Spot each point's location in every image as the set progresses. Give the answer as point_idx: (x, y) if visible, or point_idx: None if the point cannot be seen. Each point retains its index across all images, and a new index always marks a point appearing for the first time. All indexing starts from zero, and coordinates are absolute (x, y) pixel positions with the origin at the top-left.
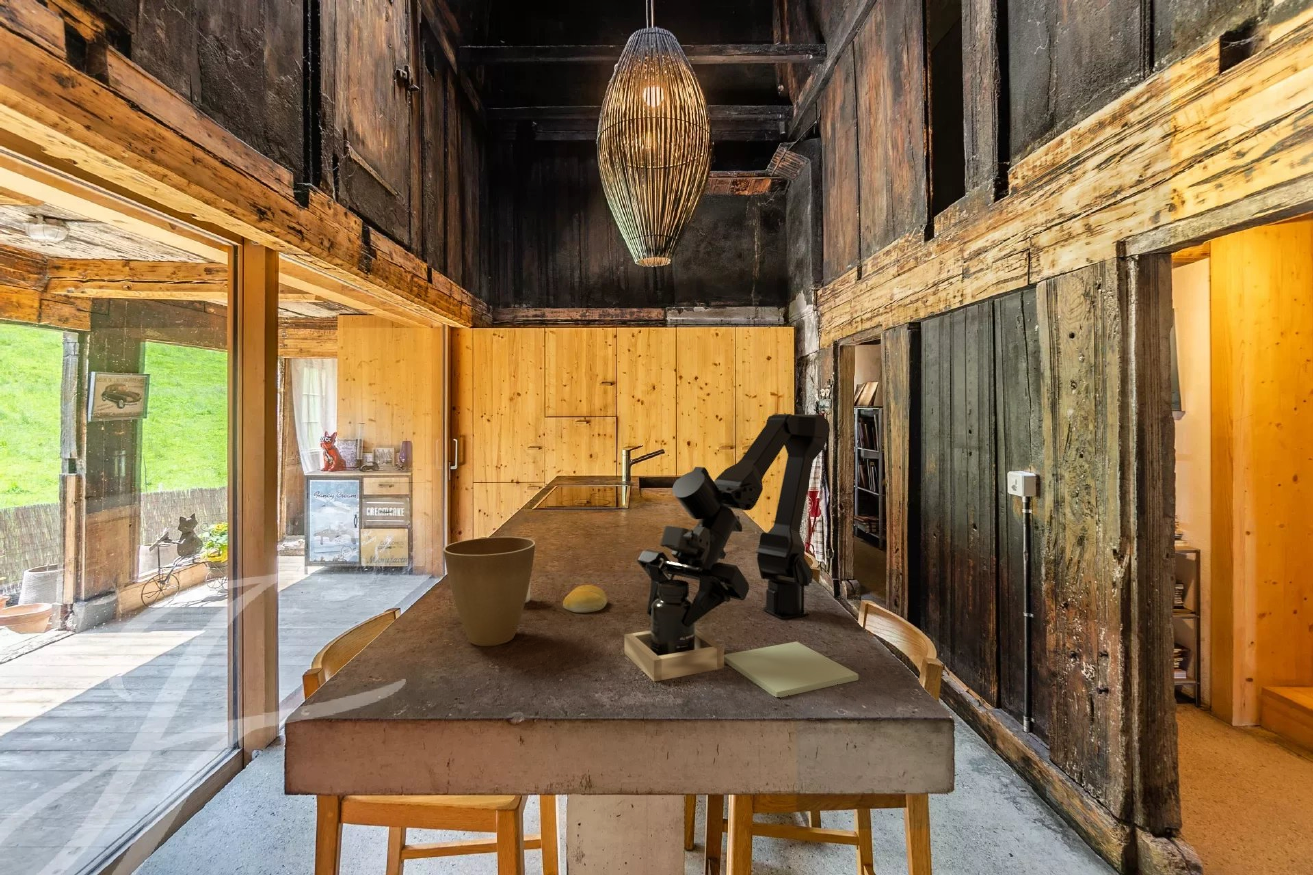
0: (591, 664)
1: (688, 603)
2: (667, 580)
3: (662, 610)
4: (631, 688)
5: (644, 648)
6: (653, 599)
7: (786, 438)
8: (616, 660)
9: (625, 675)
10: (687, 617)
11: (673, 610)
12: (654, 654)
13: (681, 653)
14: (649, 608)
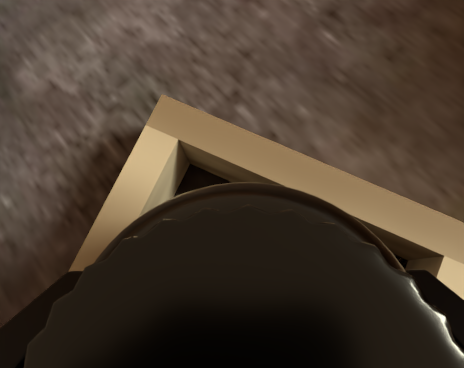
0: (450, 85)
1: None
2: None
3: (212, 186)
4: (200, 44)
5: (283, 163)
6: (460, 341)
7: None
8: (414, 171)
9: (287, 99)
10: (53, 293)
11: (129, 227)
12: (201, 141)
13: (114, 229)
14: (428, 285)
